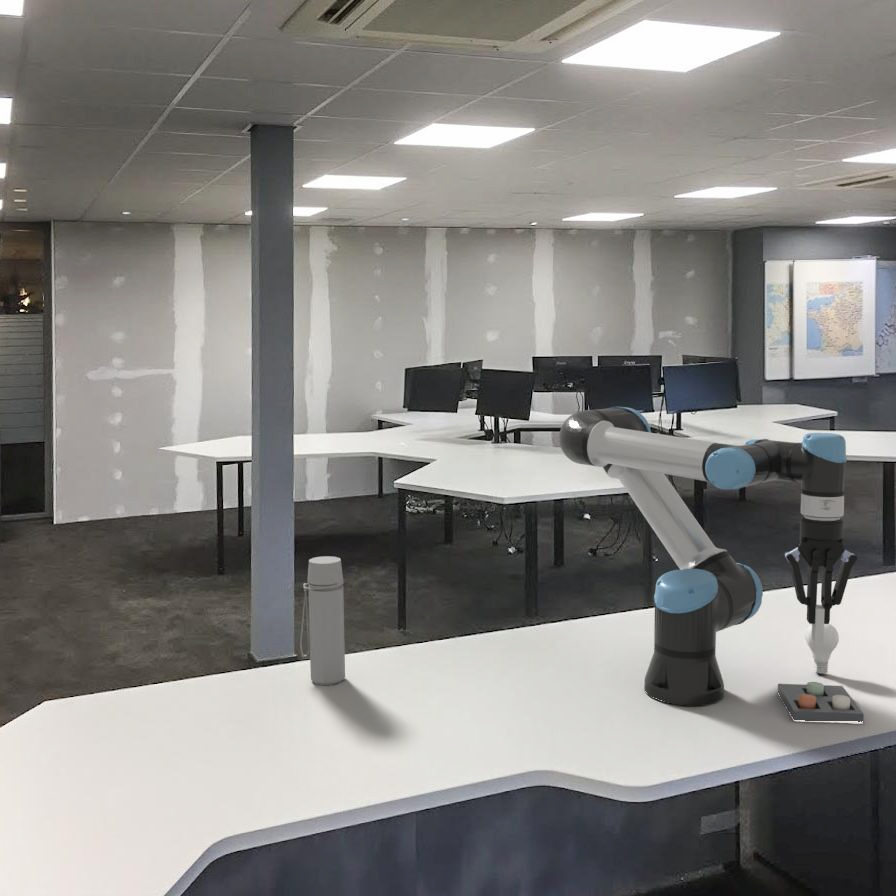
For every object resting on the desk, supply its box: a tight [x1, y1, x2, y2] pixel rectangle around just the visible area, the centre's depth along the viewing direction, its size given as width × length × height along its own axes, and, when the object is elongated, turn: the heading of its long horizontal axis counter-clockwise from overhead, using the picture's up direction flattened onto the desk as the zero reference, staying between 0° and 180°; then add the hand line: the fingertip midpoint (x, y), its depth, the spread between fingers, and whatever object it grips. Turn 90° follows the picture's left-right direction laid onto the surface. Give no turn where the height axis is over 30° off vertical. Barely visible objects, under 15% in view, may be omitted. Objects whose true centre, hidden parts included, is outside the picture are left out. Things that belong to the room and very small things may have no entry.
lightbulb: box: [805, 623, 840, 675], centre depth 203 cm, size 6×6×11 cm
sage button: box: [806, 681, 825, 696], centre depth 188 cm, size 3×3×2 cm
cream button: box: [832, 695, 850, 710], centre depth 181 cm, size 3×3×2 cm
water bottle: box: [299, 555, 346, 686], centre depth 201 cm, size 9×8×25 cm
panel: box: [777, 683, 865, 722], centre depth 185 cm, size 12×14×2 cm
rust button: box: [798, 694, 816, 709], centre depth 182 cm, size 3×3×2 cm
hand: (817, 640), depth 187 cm, fingers closed
